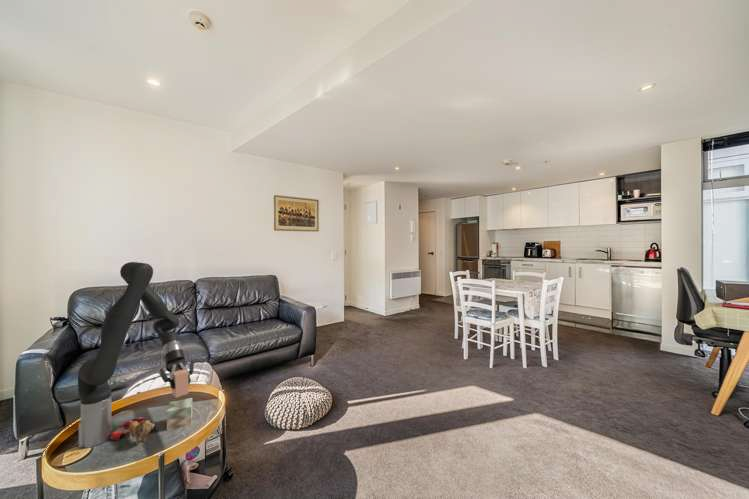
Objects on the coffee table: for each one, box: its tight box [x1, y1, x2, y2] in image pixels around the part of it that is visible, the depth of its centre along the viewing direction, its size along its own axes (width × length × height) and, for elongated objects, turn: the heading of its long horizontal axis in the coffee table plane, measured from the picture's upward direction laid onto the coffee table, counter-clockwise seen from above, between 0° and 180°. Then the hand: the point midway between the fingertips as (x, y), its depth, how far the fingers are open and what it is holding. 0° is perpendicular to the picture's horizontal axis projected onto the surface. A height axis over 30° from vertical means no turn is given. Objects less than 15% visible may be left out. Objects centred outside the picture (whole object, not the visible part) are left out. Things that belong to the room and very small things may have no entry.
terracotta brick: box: [171, 369, 189, 398], centre depth 134 cm, size 5×5×10 cm
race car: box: [109, 416, 147, 441], centre depth 128 cm, size 13×5×4 cm, turn 164°
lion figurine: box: [126, 419, 155, 446], centre depth 122 cm, size 15×5×9 cm, turn 71°
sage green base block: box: [166, 397, 193, 431], centre depth 135 cm, size 9×9×8 cm
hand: (181, 385), depth 133 cm, fingers closed on terracotta brick, 5 cm apart
